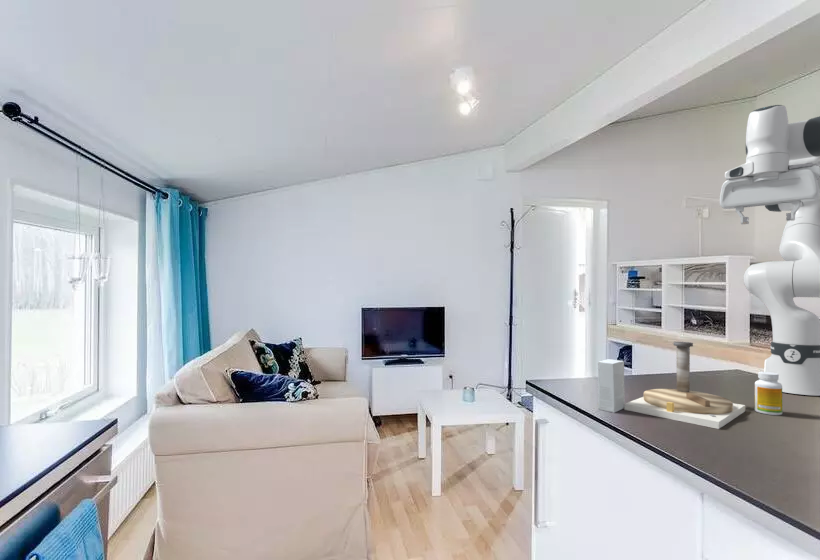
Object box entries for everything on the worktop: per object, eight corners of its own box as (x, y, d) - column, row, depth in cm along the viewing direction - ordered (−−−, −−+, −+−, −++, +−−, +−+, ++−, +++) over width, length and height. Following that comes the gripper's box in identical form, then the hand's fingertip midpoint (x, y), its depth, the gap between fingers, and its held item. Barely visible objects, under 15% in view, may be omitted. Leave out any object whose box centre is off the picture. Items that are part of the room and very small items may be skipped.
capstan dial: (660, 391, 128) (660, 339, 128) (742, 404, 113) (742, 346, 114) (630, 402, 115) (631, 345, 115) (719, 418, 101) (719, 353, 101)
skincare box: (607, 405, 118) (607, 358, 118) (624, 408, 115) (624, 360, 115) (597, 409, 114) (597, 361, 114) (614, 413, 110) (614, 363, 111)
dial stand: (658, 396, 128) (658, 383, 128) (745, 411, 113) (745, 397, 113) (624, 409, 114) (624, 395, 114) (718, 428, 99) (718, 412, 99)
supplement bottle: (787, 416, 109) (787, 375, 109) (762, 414, 110) (762, 374, 110) (774, 410, 115) (774, 371, 115) (750, 409, 116) (750, 370, 116)
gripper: (822, 163, 112) (822, 219, 112) (724, 177, 128) (724, 227, 127) (818, 158, 108) (819, 216, 108) (717, 173, 123) (717, 224, 123)
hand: (767, 222), depth 118 cm, fingers open, 8 cm apart
